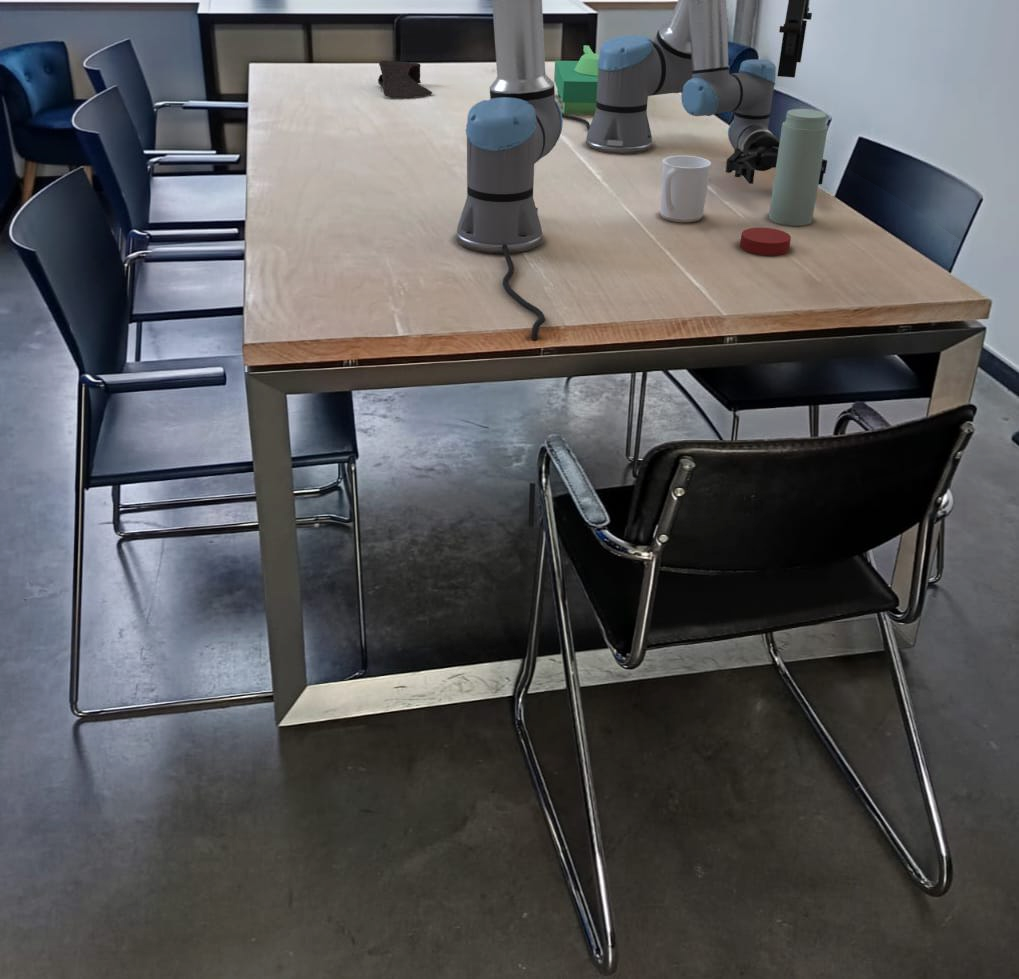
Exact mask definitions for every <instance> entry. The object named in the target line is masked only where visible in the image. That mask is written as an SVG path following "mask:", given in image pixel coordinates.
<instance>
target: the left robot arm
mask: <svg viewBox="0 0 1019 979" xmlns="http://www.w3.org/2000/svg"><path fill="white" fill-rule="evenodd" d="M787 2H788V3H787V6H786V7H787V8H786V14H785V20H784V23H783V25H779V30H778V33H782V41H781V47H780V53H779V60H778V61H779V62H778V69H777V77H780V78H781V77H783V78H792V79H793V78H794V79H795V77H796V72H797V65H798V63H801V62H802V56H803V50H804V44H805V36H806V30H807V23H808V20H809V21H811V20H812V16H813V13H812V12H810V0H788V1H787ZM491 4H492V18H493V34H494V35H493V36H494V47H495V48H494V50H495V63H496V77H495V80H494V81H493V82H492V84H490V86H489V97H490V98H489V99H484V100H481V101H479V102H477V103H475V104H473V105H472V106H471V107H470V109H469V110H468V113H467V120H466V121H467V122H466V126H465V133H466V134H465V135H466V192H467V193H466V198H465V202H464V205H463V209H462V211H461V214H460V218H459V220H458V224H457V228H456V241H457V243H458V244H459V245H461V246H462V247H464V248H466V249H468V250H470V251H475V252H479V253H486V254H497V255H499V254H500V255H504V258H505V262H506V264H507V268H508V270H507V272H506V274H505V276H504V277H503V279H502V287H503V288H504V291H505V292H506V293H507V294H508V295H509V297H511V298H512V299H513V300H514V301H516V302H517V303H518V304H519V306H521V307H523V308H524V309H527V310H528V311H530V312H532V314H534V315H536V316H537V320H536V321H535V322H534V323H533V325H532V328H531V336H530V338H531V339H530V340H531V341H532V342H537V341H538V336H539V335H538V334H539V330H540V327H541V326H542V325H543V324H544V323H545V321H546V317H545V314H544V313H543V312H542V310H540V309H539V308H538V307H537V306H535V305H533V304H532V303H530V302H528V301H527V300H525V299H524V298H522V297H521V295H519V294H518V293H517V292H516V291H515V290H514V289H512V287H511V286H510V284H509V281H510V280H511V278H512V277H513V275H514V271H515V265H514V262H513V259H512V256H511V254H517V253H524V252H527V251H530V250H533V249H536V248H538V247H539V246H540V245H541V244H542V243H543V229H542V224H541V221H540V220H541V219H540V218H539V214H538V213H539V212H538V211H539V209H538V207H537V206H536V204H535V199H534V184H535V181H534V180H535V164H536V163H538V162H539V161H540V160H541V159H543V158H544V157H546V156H547V155H548V154H549V153H550V152H551V151H553V149H554V148H555V146H556V145H557V143H558V141H559V139H560V137H561V134H562V131H563V120H564V119H563V117H562V114H563V112H562V109H561V107H560V105H559V103H558V101H556V91H555V81H554V80H552V79H551V78H550V77H549V76H548V75H547V73H546V61H545V60H546V59H545V58H546V57H545V56H546V55H545V36H544V15H543V14H544V12H543V0H491ZM528 495H529V496H528V520H527V521H528V524H527V525H528V527H532V528H533V527H535V509H536V508H535V507H536V504H535V503H536V483H535V482H529V494H528Z"/></svg>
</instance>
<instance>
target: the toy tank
mask: <svg viewBox="0 0 1019 979" xmlns="http://www.w3.org/2000/svg"><path fill="white" fill-rule="evenodd" d="M599 54H600V53H594V52H593V50H592V49H591V47H590V45H586V44H585V45H583V55H581V57H580V58H579V60H554V73H553V74H554V75H553V82H554V85H555V87H556V89H557V90H556V91H557V92H556V94H557V97H560V101H561V103H562V114H566V115H570V114H571V115H574V114H575V115H594V114H595V111H596V100H597V84H598V60H599Z"/></svg>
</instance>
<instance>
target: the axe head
mask: <svg viewBox="0 0 1019 979" xmlns="http://www.w3.org/2000/svg"><path fill="white" fill-rule="evenodd" d="M378 66H379V68H380V72H381V74H379V75H378V79H377V84H378V85H379V86H380V87H381V88H382V89H383V95H384V96H385V97H388V98H394V99H395V98H396V99H403V98H405V99H406V98H407V99H411V98H418V97H425V96H429V95H432V94H433V91H431V90H430V89H428V88H427V87H425V86H422V85H421V84H422V82H421V63H419V62H410V61H408V62H407V61H397V60H388V59H387V60H380V61H379V62H378Z"/></svg>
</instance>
